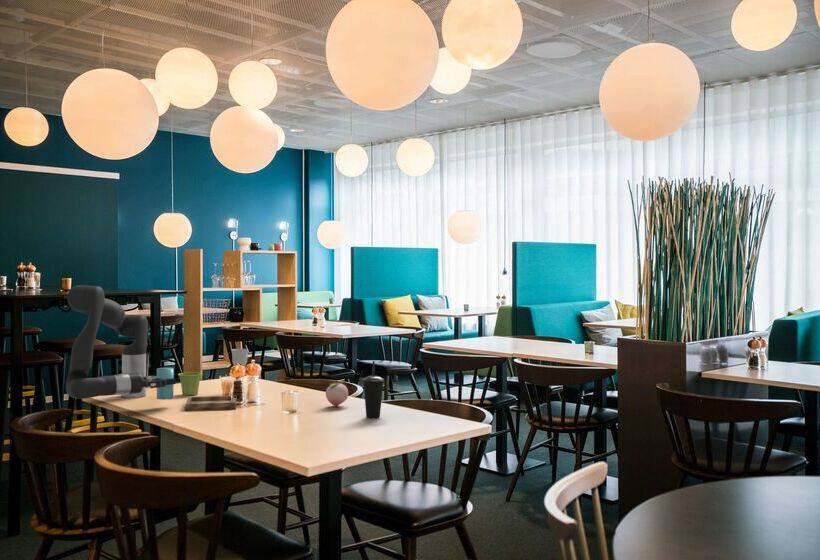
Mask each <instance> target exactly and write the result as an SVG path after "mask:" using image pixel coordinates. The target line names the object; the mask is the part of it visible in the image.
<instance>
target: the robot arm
mask: <svg viewBox="0 0 820 560" xmlns="http://www.w3.org/2000/svg"><path fill="white" fill-rule="evenodd" d="M66 296H67V297H66V301H67V303H68V305H69V307H70V309H72V310H73V311H75V312H77V313H78V312H79V313H82V314H85V315H87V316H88V320H87V322H86V324H85V326H84V327H83V329H82V330H81V332H80V333H79V334H78V335H77V337H76V338H75V340H74V342H73V344H72V347H71V356H70V362H69V363H70V365H69V369H68V373H67V377H66V381H65V382H66V383H65V391H66V394H67V395H68V397H70V398H74V399H78V400H79V399H80V400H84V399H91V398H95V397H96V398H97V397H107V396H108V397H109V396H120V398H130V399H131V398H133V399H134V398H142V397H146V395H147V393H146V392H147V389H157V388H158V387H166V385H173V384H174V385H175V384H176V378H171V379H159V378H157V375H147V348H148V347H147V346H148V333H149V332H148V330H149V321H148V317H147V316H146V315H145V314H126V312H125V309H124V307H123V306H122V305H121V304H119V303H117V302H116V301H115V300H112V299H109V298H106V296H105V292H104V289H103V288H102V287H101V286H99V285H81V284H80V285H79V284H78V285H75V286H72V287H71V288H70V289H69V290H68V292H67V295H66ZM100 323H102V324H103V325H105V326H106V327H109V328H111V329H112V330H114V331H115V332H116V333H117V334H118V335H120V336H121V337H124V338H135V339H134V342H133V343H130V344H129V345H126V346H123V347H122V349H121V373H119V374H114V375H101V376H98V377H88V374H89V372H90V371H91V369H92V367H93V359H94V350H95V349H94V348H95V343H96V337H97V333H98V330H99V327H100ZM160 382H162V384H160Z"/></svg>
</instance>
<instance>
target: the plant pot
mask: <svg viewBox="0 0 820 560" xmlns="http://www.w3.org/2000/svg"><path fill="white" fill-rule="evenodd" d="M177 375H178V377H179V380H180V386H181V394H182V396H188V397H190V396H196V395H198V394H199V387H200V381H201V376H202V375H203V373H202V372H196V371H195V372H191V371H190V372H182V373H178V374H177Z"/></svg>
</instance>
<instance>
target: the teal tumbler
mask: <svg viewBox="0 0 820 560" xmlns="http://www.w3.org/2000/svg"><path fill="white" fill-rule="evenodd" d="M174 372H175V371H174V367H159V368H156V376H157V378H159V379H171V378H174V377H175V376H174V375H175V374H174ZM174 379H175V378H174ZM160 384H162V382H160ZM174 385H175V384H173V385H166V387H158V388H156V399H157V400H171V399H174V390H175V389H174Z"/></svg>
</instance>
